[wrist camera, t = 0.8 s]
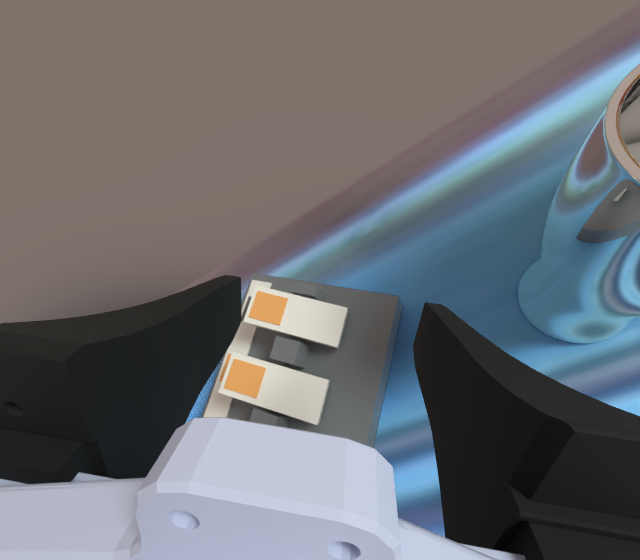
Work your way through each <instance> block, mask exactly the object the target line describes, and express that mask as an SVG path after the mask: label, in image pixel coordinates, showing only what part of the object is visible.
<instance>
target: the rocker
mask: <svg viewBox="0 0 640 560" xmlns="http://www.w3.org/2000/svg"><path fill="white" fill-rule="evenodd" d="M347 314H348V308H346V307H342V306H338V305H334V304H330V303H326V302H322V301H318V300H314V299H310V298H306V297H302V296H298V295H294V294H290V293H286V292H282V291H278V290H274V289H270V288H266V287H261V286H257V285H256V286H255V289H254V292H253V295H252V297H251V300H250V303H249V306H248V309H247V312H246V315H245V317H244V320H243V322H245V323H247V324H250V325H253V326H257V327H260V328H264V329H268V330H271V331H275V332H279V333H282V334H286V335H290V336H293V337H297V338H300V339H304V340H308V341H311V342H315V343H319V344H322V345H326V346H329V347H333V348H337V349H339V345H340V341H341V337H342V333H343V330H344V326H345V322H346V318H347Z"/></svg>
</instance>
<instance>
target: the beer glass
mask: <svg viewBox="0 0 640 560" xmlns="http://www.w3.org/2000/svg"><path fill="white" fill-rule="evenodd" d="M518 301H519V305H520V307H521V310H522V312H523V313H524V315H525V316H526V318H527V319H528V320H529V321H530V322H531V323H532V324H533V325H534V326H535V327H536V328H537V329H539V330H540V331H542V332H543V333H545V334H547V335H549V336H551V337H553V338H556V339H558V340H562V341H566V342H571V343H595V342H600V341H604V340H606V339H609V338H611V337H613V336H615V335H617V334H618V333H620V332H621V331H622V330H624V329H625V328H626V327H627V326H628V325H629V323H630V322H631V321H632V320H633V319H634V318H639V317H640V64H639V65H638V66H637V67H635V68H634V69H633V70H632V71H631V72H630V73H629V74H628V75H627V76H626V77H625V78H624V79H623V80H622V82H621V83H620V84H619V85H618V87H617V88H616V90H615V91H614V93H613V95H612V97H611V99H610V101H609V103H608V105H607V107H606V108H605V110H604V112H603V113H602V115H601V116H600V118H599V119H598V121H597V122H596V124H595V125H594V127H593V128H592V130H591V131H590V133H589V134H588V136H587V137H586V139H585V141H584V142H583V144H582V145H581V147H580V149H579V150H578V152H577V153H576V155H575V156H574V158H573V160H572V162H571V164H570V165H569V167H568V169H567V171H566V173H565V174H564V176H563V178H562V180H561V182H560V184H559V186H558V189H557V191H556V193H555V196H554V198H553V200H552V203H551V205H550V208H549V212H548V216H547V220H546V224H545V228H544V235H543V243H542V252H541V259H539V260H538V261H537V262H535V263H534V264H533V265H532V266H530V267H529V268H528V269H527V271H526V272H525V273H524V275H523V276H522V278H521V280H520V283H519V286H518Z"/></svg>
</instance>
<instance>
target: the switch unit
mask: <svg viewBox="0 0 640 560" xmlns="http://www.w3.org/2000/svg"><path fill="white" fill-rule="evenodd" d="M256 285H257V286H261V287H266V288H270V289H274V290H278V291H282V292H286V293H290V294H294V295H298V296H302V297H306V298H310V299H314V300H318V301H322V302H326V303H330V304H334V305H338V306H342V307H346V308H348V314H347V318H346V322H345V326H344V330H343V333H342V337H341V341H340V345H339V349H337V348H333V347H329V346H326V345H322V344H319V343H315V342H311V341H308V340H304V339H300V338H297V337H293V336H290V335H286V334H282V333H279V332H275V331H271V330H268V329H264V328H260V327H257V326H253V325H250V324H247V323H245V322H243V320H244V317H245V315H246V312H247V309H248V306H249V303H250V300H251V297H252V295H253V292H254V289H255V286H256ZM402 309H403V305H402V303H401V301H400V298H399V296H394V295H388V294H381V293H375V292H369V291H362V290H356V289H350V288H343V287H337V286H331V285H324V284H318V283H312V282H305V281H299V280H293V279H286V278H280V277H274V276H267V275H261V274H255V273H253V275H252V278H251V280H250V283H249V286H248V289H247V291H246V294H245V297H244V300H243V303H242V305H241V315H242V321H241V324H240V326H239V328H238V331H237V333H236V335H235V337H234V339H233V341H232V343H231V345H230V346H229V348H228V349H227V351H226V352H225V354H224V356H223V359H222V361H221V364H220V367H219V370H218V373H217V375H216V378H215V381H214V384H213V387H212V389H211V392H210V395H209V398H208V401H207V403H206V406H205V409H204V412H203V415H202V417H201V418H205V417H226V418H232V419H238V420H244V421H250V422H256V423H262V424H268V425H274V426H280V427H286V428H292V429H298V430H304V431H309V432H315V433H321V434H327V435H333V436H339V437H345V438H348V439H351V440H354V441H357V442H359V443H362V444H365V445H368V446H370V447H372V448H373V447H374V443H375V438H376V433H377V428H378V423H379V419H380V414H381V409H382V404H383V400H384V395H385V390H386V385H387V381H388V376H389V371H390V366H391V361H392V357H393V352H394V347H395V342H396V338H397V333H398V328H399V323H400V318H401V314H402ZM232 352H236V353H240V354H244V355H247V356H250V357H254V358H257V359H260V360H264V361H267V362H270V363H274V364H277V365H281V366H284V367H287V368H291V369H294V370H297V371H301V372H304V373H307V374H311V375H314V376H318V377H321V378H324V379H328V380H330V384H329V388H328V391H327V395H326V399H325V403H324V407H323V411H322V415H321V419H320V422H319V424H318V425H315V424H312V423H309V422H306V421H303V420H300V419H297V418H294V417H291V416H288V415H285V414H282V413H279V412H276V411H273V410H270V409H266V408H263V407H260V406H257V405H254V404H251V403H248V402H245V401H242V400H239V399H236V398H233V397H230V396H227V395H224V394H221V393H218V391H219V389H220V386H221V383H222V380H223V377H224V374H225V372H226V369H227V366H228V363H229V360H230V357H231V354H232Z"/></svg>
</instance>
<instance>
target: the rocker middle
mask: <svg viewBox="0 0 640 560" xmlns="http://www.w3.org/2000/svg"><path fill="white" fill-rule="evenodd" d="M329 384H330V380H328V379H324V378H321V377H318V376H314V375H311V374H307V373H304V372H301V371H297V370H294V369H291V368H287V367H284V366H281V365H277V364H274V363H270V362H267V361H264V360H260V359H257V358H254V357H250V356H247V355H244V354H240V353H236V352H232V354H231V357H230V360H229V363H228V366H227V369H226V372H225V374H224V377H223V380H222V383H221V386H220V389H219V391H218V393H221V394H224V395H227V396H230V397H233V398H236V399H239V400H242V401H245V402H248V403H251V404H254V405H257V406H260V407H263V408H266V409H270V410H273V411H276V412H279V413H282V414H285V415H288V416H291V417H294V418H297V419H300V420H303V421H306V422H309V423H312V424H315V425H318V424H319V422H320V419H321V415H322V411H323V407H324V403H325V399H326V395H327V391H328V388H329Z"/></svg>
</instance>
